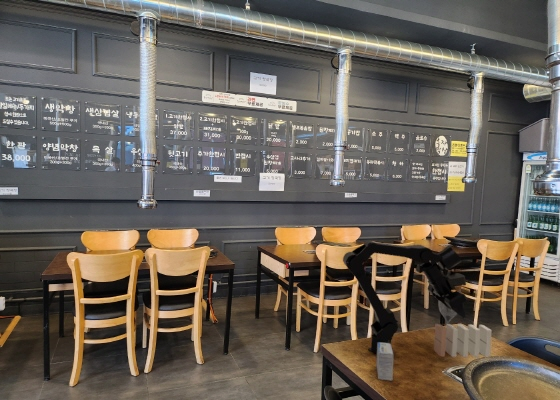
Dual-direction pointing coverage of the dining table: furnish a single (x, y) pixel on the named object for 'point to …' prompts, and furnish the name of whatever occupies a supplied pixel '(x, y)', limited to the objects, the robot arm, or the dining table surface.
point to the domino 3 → (462, 340)
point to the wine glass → (446, 312)
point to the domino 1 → (440, 340)
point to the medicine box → (384, 361)
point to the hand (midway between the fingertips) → (457, 312)
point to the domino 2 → (451, 340)
